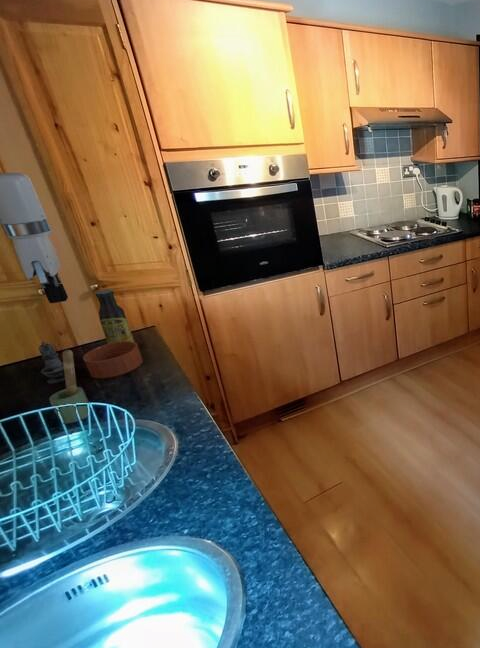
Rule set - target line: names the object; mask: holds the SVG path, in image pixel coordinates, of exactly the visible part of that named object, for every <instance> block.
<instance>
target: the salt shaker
mask: <svg viewBox="0 0 480 648" xmlns="http://www.w3.org/2000/svg"><path fill="white" fill-rule="evenodd" d="M38 351H39V353H40V355H41V357H40V359H41V360H43V362H44V364H45V365H44V366H45V367H44V368H42V369H41V370H40V373H41V374H43V375H44V376H45V377H46V378H49V379H47V383H48V384H50V385H51V384H59V383H62V382H66V381H65V373H64V365H63V361H61V359H60V358H59V353H58V352H56V350H55V348H54V345H53V344H52V343H48V342H47V343H46V342H45V341H42V342H41V344H40V345H39V346H38Z"/></svg>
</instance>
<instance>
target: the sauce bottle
mask: <svg viewBox="0 0 480 648" xmlns="http://www.w3.org/2000/svg"><path fill="white" fill-rule="evenodd" d="M95 296H96V298H97V299H98V303H99V309H98V317H99V318H98V319H99V323H100V325H101V329H102V331H103V334H104V337H105V340H106V342H107V343H106V344H110V343H114V342H121V341H132V342H135V339H134V337H133V334H132V331H131V328H130V325H129V321H128V318H127V316H126V314H125V311H124V309H123V307H121V306H120V305H118V303H117V301H116V298H115V292H114V290H113V289H111V288H105V289H100V290H97V291H96V292H95Z"/></svg>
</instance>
